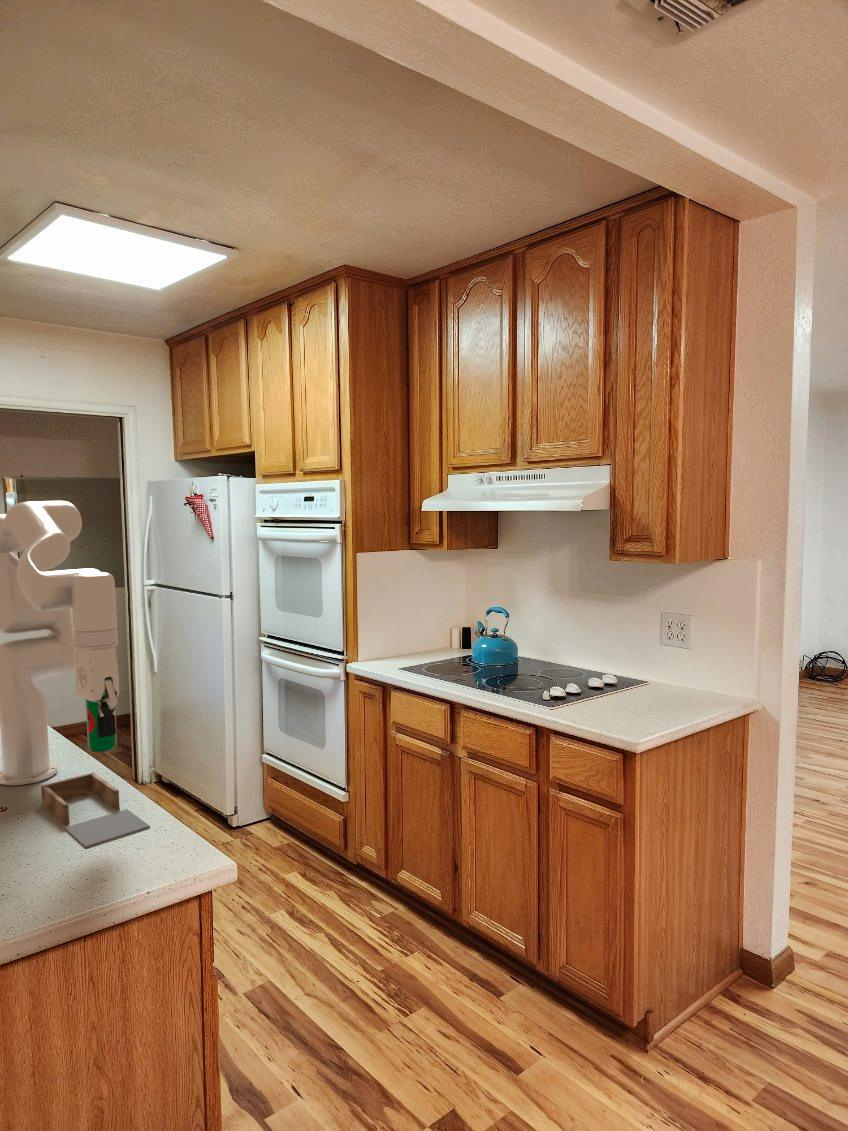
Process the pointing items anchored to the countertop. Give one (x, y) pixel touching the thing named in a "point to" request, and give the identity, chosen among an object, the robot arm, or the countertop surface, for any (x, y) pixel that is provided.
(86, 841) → the mat
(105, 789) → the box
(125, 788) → the countertop surface
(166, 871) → the countertop surface
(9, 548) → the robot arm
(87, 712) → the soda can
